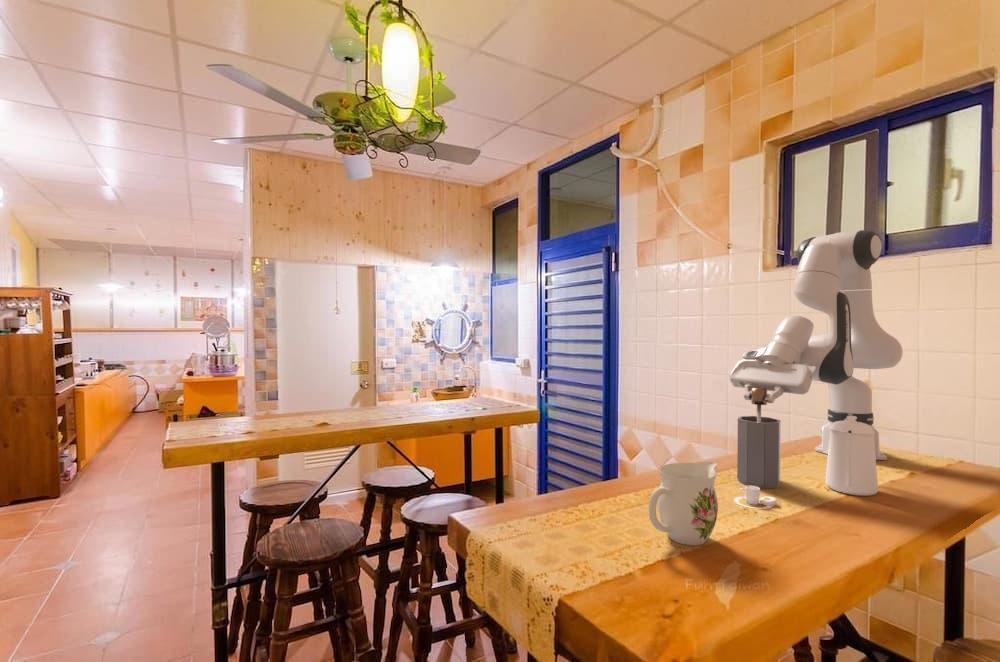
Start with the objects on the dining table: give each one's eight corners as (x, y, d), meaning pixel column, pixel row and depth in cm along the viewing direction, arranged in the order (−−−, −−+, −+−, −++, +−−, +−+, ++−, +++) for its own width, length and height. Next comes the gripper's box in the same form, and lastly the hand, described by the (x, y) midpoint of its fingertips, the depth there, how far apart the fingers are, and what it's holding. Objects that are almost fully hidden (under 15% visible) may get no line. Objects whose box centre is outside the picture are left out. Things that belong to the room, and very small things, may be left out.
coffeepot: (821, 499, 118) (821, 421, 117) (828, 474, 137) (829, 407, 137) (878, 509, 111) (879, 426, 111) (877, 481, 131) (878, 411, 131)
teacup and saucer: (779, 505, 115) (779, 487, 115) (770, 514, 109) (770, 496, 109) (739, 496, 121) (739, 479, 121) (728, 505, 115) (729, 487, 115)
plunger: (745, 472, 135) (746, 386, 135) (775, 477, 131) (776, 388, 131) (741, 479, 129) (741, 389, 129) (772, 484, 125) (773, 391, 125)
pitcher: (628, 538, 96) (629, 468, 96) (691, 520, 105) (691, 456, 105) (673, 561, 86) (674, 483, 86) (738, 540, 95) (738, 469, 95)
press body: (743, 472, 139) (743, 413, 139) (782, 478, 134) (782, 417, 134) (735, 484, 129) (735, 420, 129) (777, 491, 123) (777, 424, 123)
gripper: (823, 372, 127) (803, 413, 122) (747, 366, 144) (727, 402, 139) (814, 355, 125) (794, 397, 119) (738, 352, 142) (717, 388, 137)
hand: (757, 400), depth 129 cm, fingers open, 4 cm apart
